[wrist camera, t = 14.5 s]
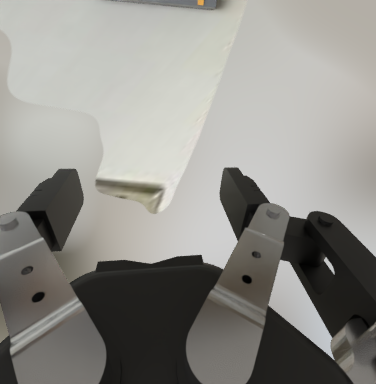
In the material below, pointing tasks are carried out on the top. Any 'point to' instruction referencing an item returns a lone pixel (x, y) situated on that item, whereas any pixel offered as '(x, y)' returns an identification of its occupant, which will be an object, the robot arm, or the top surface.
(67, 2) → the top surface
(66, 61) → the top surface
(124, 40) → the top surface
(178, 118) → the top surface
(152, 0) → the slider track
